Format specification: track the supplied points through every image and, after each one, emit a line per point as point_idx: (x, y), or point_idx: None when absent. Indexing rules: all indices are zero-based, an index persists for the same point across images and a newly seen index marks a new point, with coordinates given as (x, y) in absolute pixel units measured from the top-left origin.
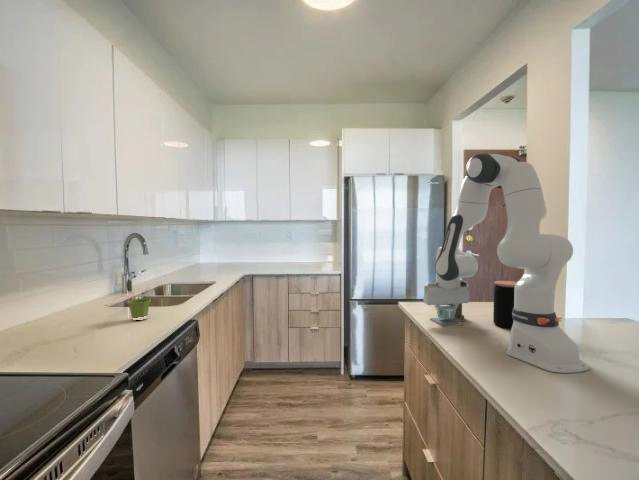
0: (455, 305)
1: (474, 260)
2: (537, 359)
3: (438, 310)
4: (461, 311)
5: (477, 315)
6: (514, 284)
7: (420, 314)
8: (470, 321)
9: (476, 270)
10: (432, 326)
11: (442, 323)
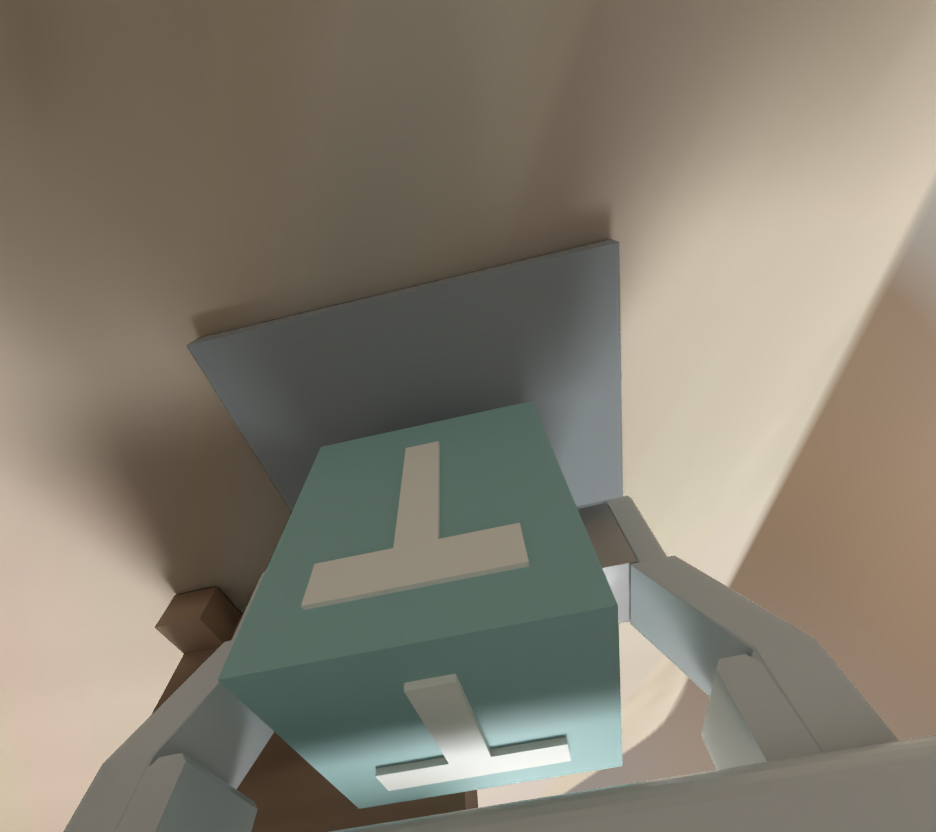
0: (174, 779)
1: None
2: None
3: (686, 564)
4: (165, 699)
5: (19, 679)
6: None
7: (620, 658)
8: (85, 492)
9: None
10: (795, 202)
11: (570, 321)
